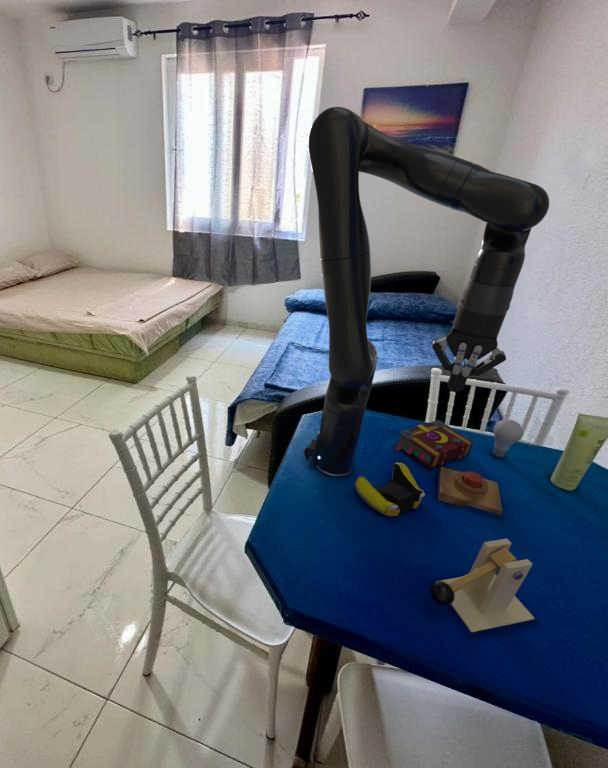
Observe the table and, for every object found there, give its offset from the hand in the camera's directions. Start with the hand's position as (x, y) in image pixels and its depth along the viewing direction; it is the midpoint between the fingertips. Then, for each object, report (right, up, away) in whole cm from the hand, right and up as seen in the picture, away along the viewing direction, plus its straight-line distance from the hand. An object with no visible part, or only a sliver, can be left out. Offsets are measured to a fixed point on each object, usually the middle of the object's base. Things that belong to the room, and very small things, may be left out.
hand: (453, 390), depth 81 cm
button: (+10, -21, +11) cm, 26 cm away
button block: (+10, -24, +12) cm, 29 cm away
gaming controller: (-9, -25, +10) cm, 28 cm away
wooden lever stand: (-2, -37, -11) cm, 38 cm away
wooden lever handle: (-5, -31, -15) cm, 35 cm away
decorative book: (+9, -17, +26) cm, 33 cm away
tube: (+35, -23, +17) cm, 45 cm away
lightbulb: (+26, -18, +25) cm, 40 cm away
